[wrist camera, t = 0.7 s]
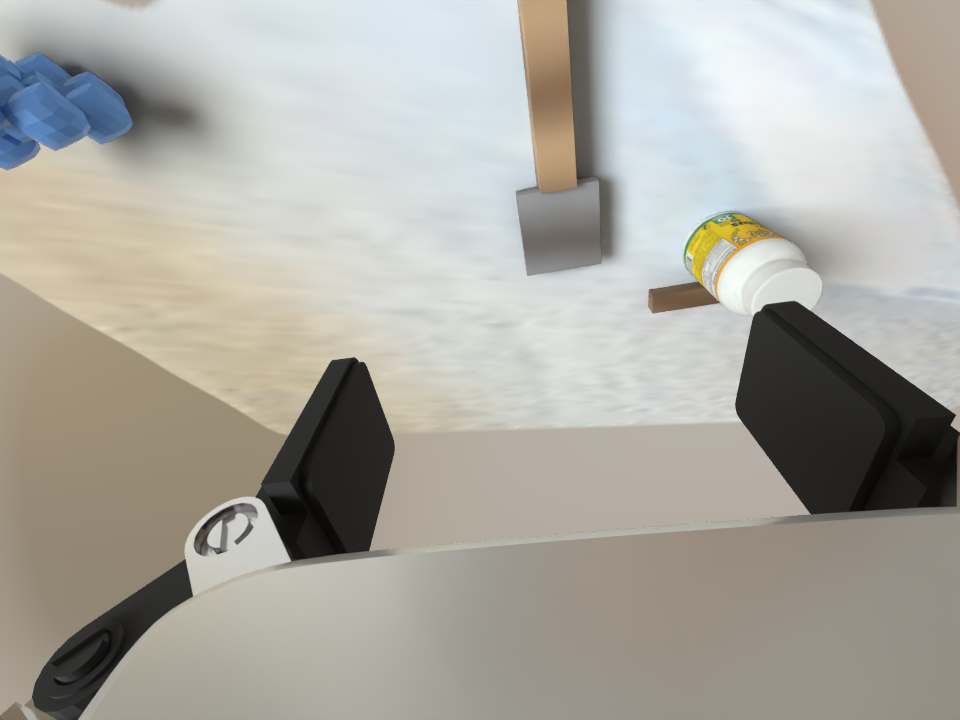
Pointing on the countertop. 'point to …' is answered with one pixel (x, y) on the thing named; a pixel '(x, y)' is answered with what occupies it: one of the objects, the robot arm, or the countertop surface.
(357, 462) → the robot arm
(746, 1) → the countertop surface
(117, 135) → the grapes
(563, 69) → the turner
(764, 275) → the supplement bottle
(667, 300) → the stop strip
